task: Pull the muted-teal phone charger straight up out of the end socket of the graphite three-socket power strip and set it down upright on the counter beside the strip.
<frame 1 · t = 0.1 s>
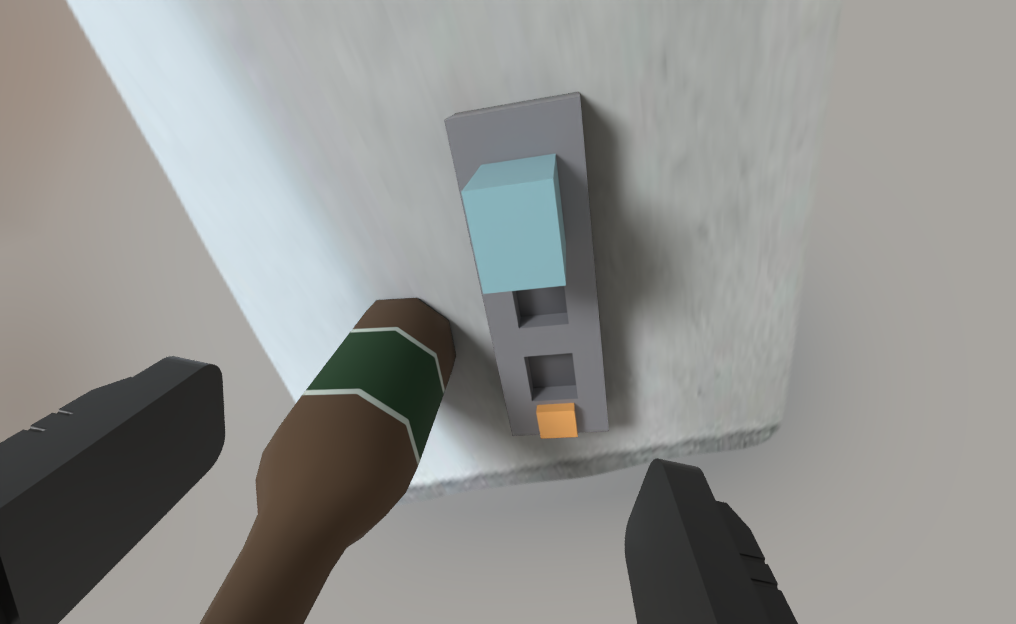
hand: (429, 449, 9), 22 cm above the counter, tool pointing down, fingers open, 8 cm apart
power strip: (541, 279, 31), on the counter
charger: (527, 197, 27), point 1 cm above the counter, touching power strip
beer bottle: (409, 336, 35), on the counter
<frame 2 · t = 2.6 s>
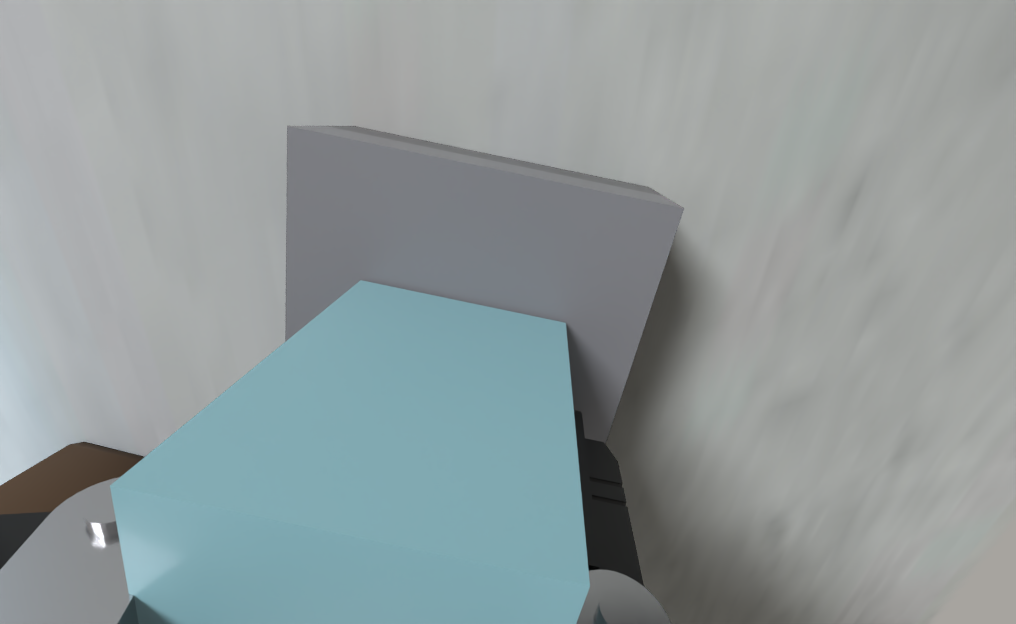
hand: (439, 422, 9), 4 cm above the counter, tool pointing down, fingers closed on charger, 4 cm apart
power strip: (438, 510, 15), on the counter
charger: (458, 372, 11), point 2 cm above the counter, touching gripper, power strip
beer bottle: (136, 521, 17), on the counter
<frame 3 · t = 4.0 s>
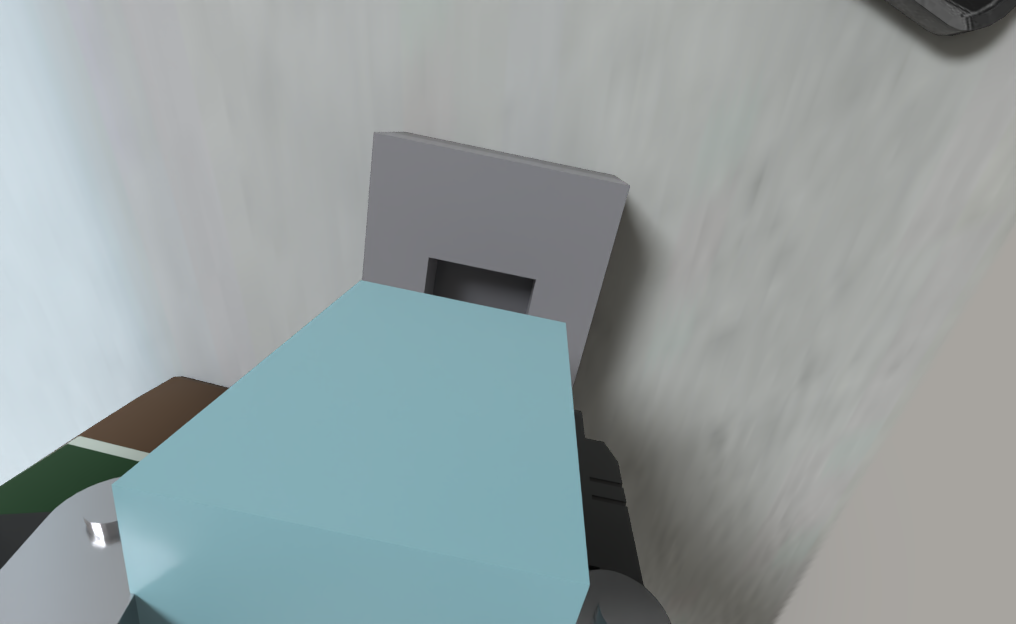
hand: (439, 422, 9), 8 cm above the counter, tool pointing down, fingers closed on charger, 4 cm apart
power strip: (459, 428, 19), on the counter
charger: (458, 372, 11), point 6 cm above the counter, touching gripper
beer bottle: (217, 444, 21), on the counter
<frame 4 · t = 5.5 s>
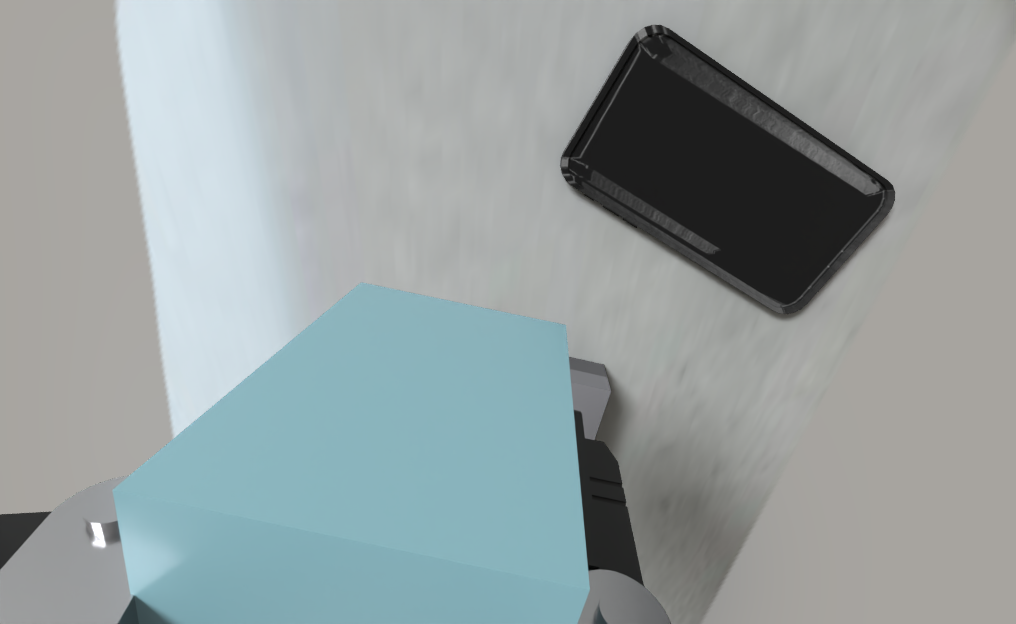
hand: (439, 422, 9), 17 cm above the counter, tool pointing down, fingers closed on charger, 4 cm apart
phone: (716, 181, 24), on the counter
power strip: (506, 495, 31), on the counter
charger: (458, 374, 11), point 15 cm above the counter, touching gripper
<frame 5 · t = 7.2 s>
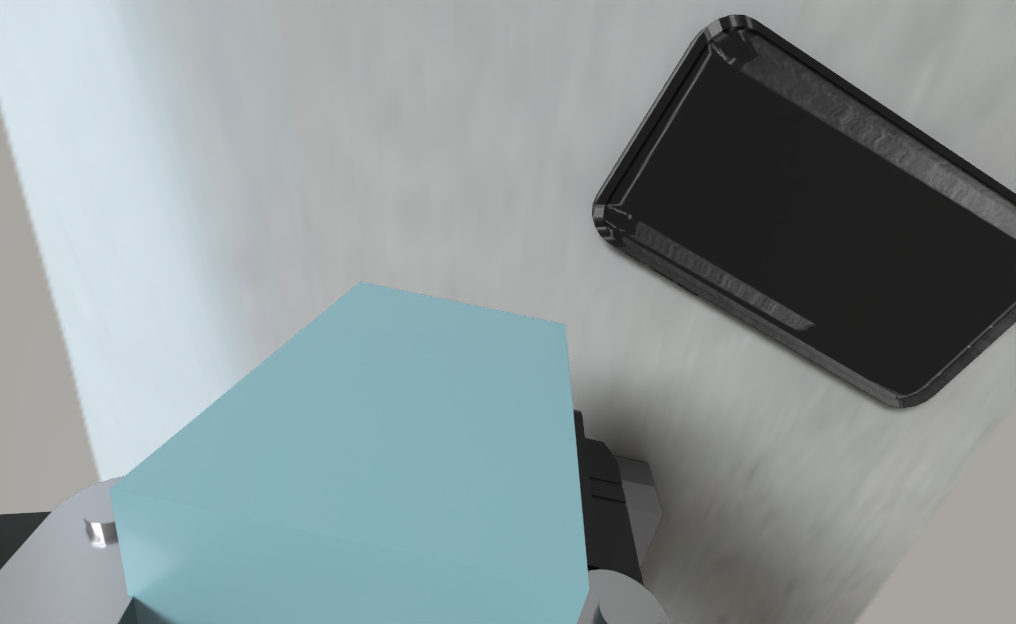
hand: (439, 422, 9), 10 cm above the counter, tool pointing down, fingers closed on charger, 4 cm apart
phone: (808, 230, 17), on the counter
power strip: (522, 608, 25), on the counter
charger: (458, 373, 11), point 8 cm above the counter, touching gripper
when the fingers open (3 cm above the counter, at t = 8.7 s): charger drops 1 cm, on the counter.
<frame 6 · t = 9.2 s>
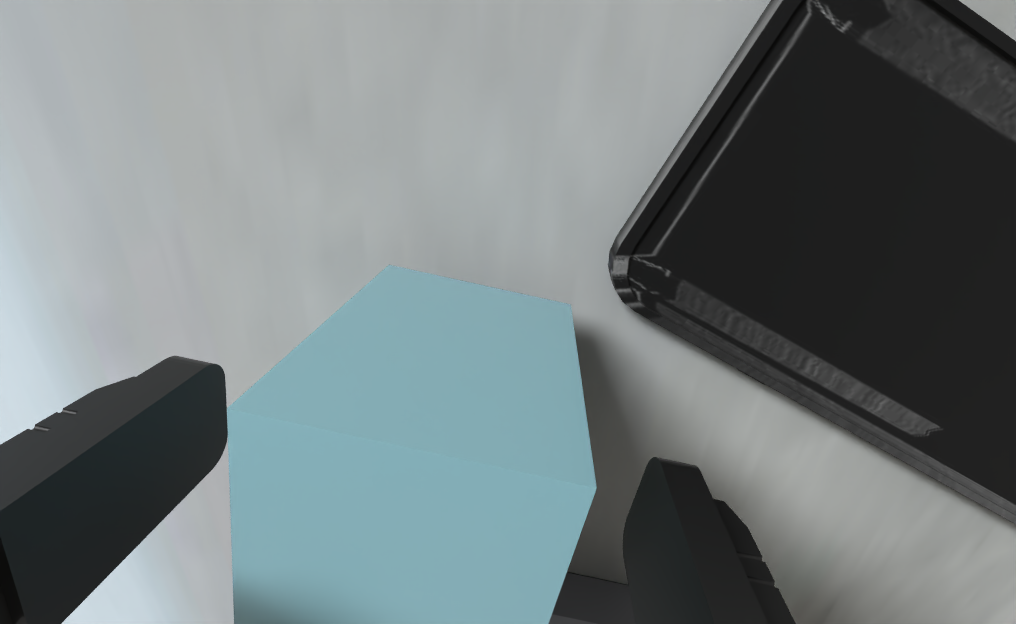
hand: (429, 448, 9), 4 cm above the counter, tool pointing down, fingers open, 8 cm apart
phone: (933, 288, 11), on the counter
charger: (471, 352, 12), on the counter
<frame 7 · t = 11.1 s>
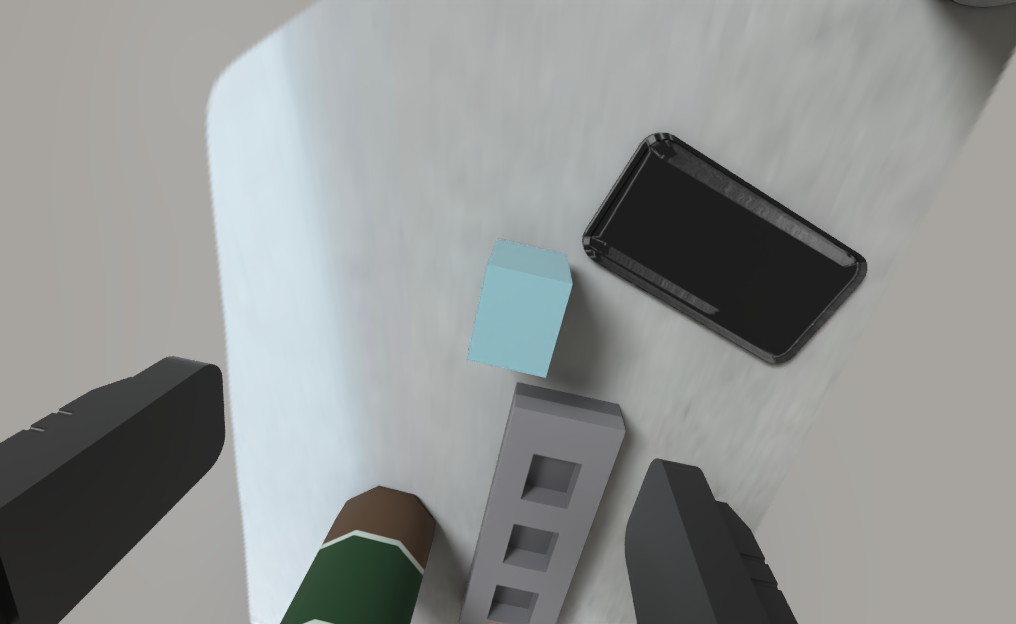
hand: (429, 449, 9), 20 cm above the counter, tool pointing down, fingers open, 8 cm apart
phone: (715, 252, 28), on the counter
power strip: (531, 515, 35), on the counter
charger: (523, 279, 29), on the counter
beer bottle: (390, 520, 37), on the counter
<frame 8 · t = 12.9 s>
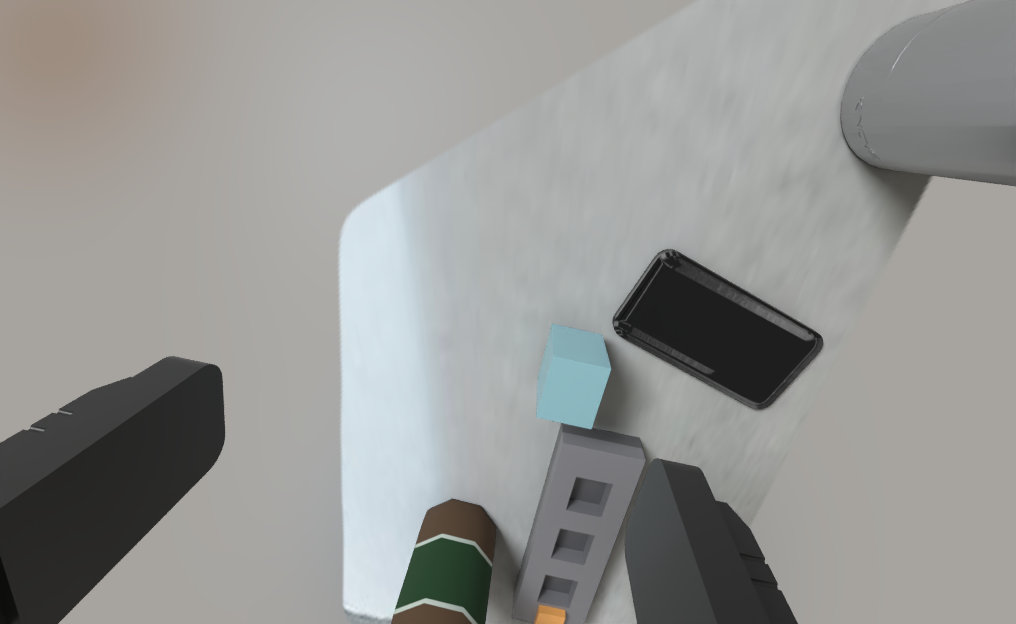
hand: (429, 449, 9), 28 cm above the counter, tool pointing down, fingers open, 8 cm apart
phone: (711, 328, 38), on the counter
power strip: (570, 521, 45), on the counter
charger: (568, 348, 39), on the counter
beer bottle: (459, 525, 47), on the counter
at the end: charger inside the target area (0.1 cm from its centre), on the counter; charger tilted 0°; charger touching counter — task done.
